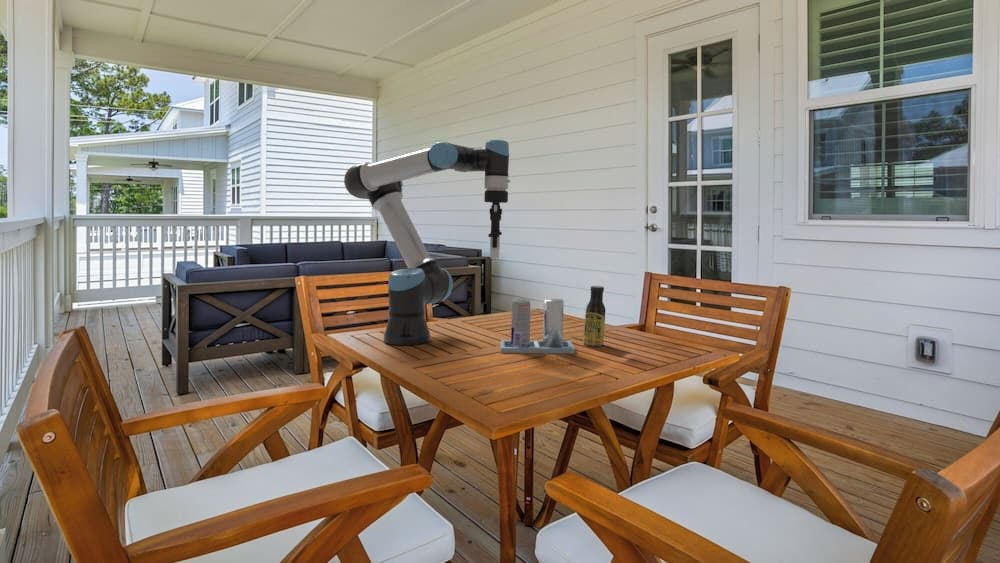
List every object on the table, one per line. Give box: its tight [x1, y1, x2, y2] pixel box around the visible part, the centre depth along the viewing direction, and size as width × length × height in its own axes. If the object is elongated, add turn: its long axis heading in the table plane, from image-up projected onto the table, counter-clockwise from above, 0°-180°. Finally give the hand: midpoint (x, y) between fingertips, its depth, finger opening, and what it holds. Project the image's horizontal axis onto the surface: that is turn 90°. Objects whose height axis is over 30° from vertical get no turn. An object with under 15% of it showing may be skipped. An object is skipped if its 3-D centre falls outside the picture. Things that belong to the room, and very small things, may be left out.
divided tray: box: [499, 339, 576, 354], centre depth 166 cm, size 22×10×3 cm, turn 91°
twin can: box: [542, 298, 564, 348], centre depth 165 cm, size 6×6×15 cm
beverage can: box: [510, 298, 531, 347], centre depth 165 cm, size 6×6×15 cm
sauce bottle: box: [583, 285, 606, 348], centre depth 171 cm, size 6×6×20 cm
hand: (494, 256), depth 177 cm, fingers open, 13 cm apart
